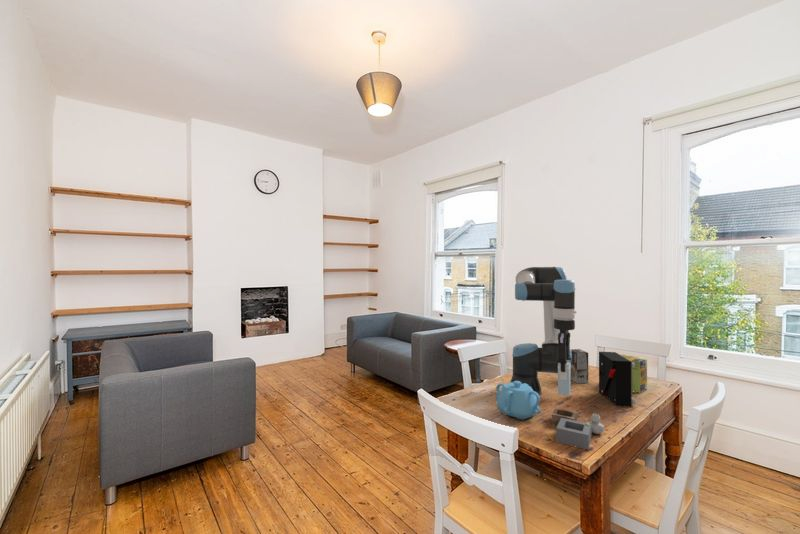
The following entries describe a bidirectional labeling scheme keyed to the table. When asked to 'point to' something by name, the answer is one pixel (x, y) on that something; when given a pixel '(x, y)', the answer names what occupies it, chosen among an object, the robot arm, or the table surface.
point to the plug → (565, 382)
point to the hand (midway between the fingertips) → (564, 377)
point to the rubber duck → (596, 424)
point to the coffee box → (579, 366)
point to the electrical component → (616, 378)
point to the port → (573, 433)
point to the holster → (563, 415)
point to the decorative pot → (517, 400)
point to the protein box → (638, 373)
